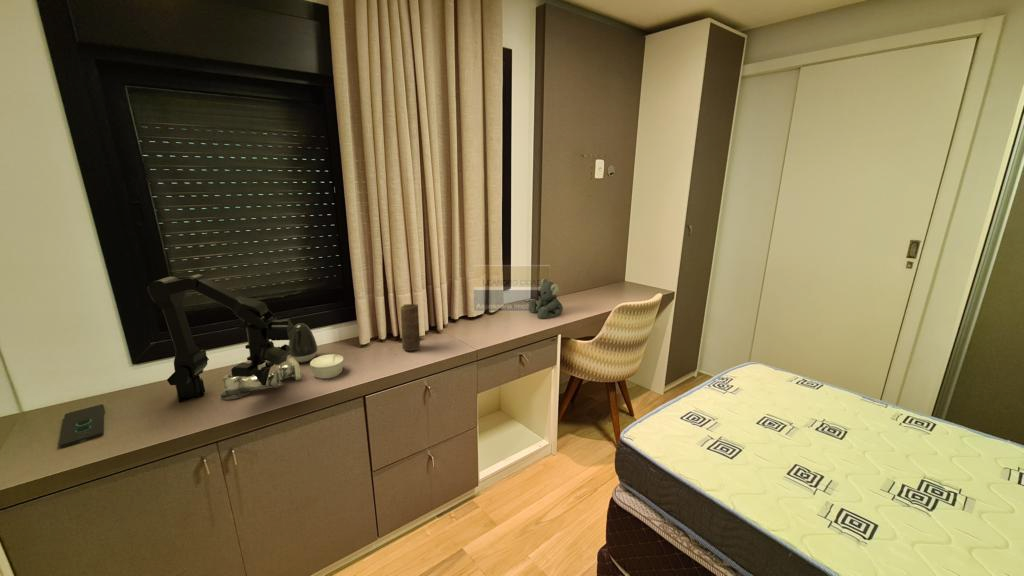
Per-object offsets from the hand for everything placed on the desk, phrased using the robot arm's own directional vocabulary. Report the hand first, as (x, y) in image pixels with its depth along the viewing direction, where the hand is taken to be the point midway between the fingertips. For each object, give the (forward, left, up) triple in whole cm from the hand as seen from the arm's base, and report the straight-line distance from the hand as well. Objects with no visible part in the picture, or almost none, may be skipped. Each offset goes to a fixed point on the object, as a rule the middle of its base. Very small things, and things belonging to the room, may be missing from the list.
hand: (264, 384), depth 129 cm
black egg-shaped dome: (+18, +19, -3) cm, 26 cm away
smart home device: (-42, +14, -4) cm, 45 cm away
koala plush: (+137, -6, -4) cm, 137 cm away
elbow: (-3, +4, -3) cm, 6 cm away
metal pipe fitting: (0, +6, -3) cm, 7 cm away
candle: (+55, 0, -3) cm, 55 cm away
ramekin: (+21, +1, -4) cm, 21 cm away
